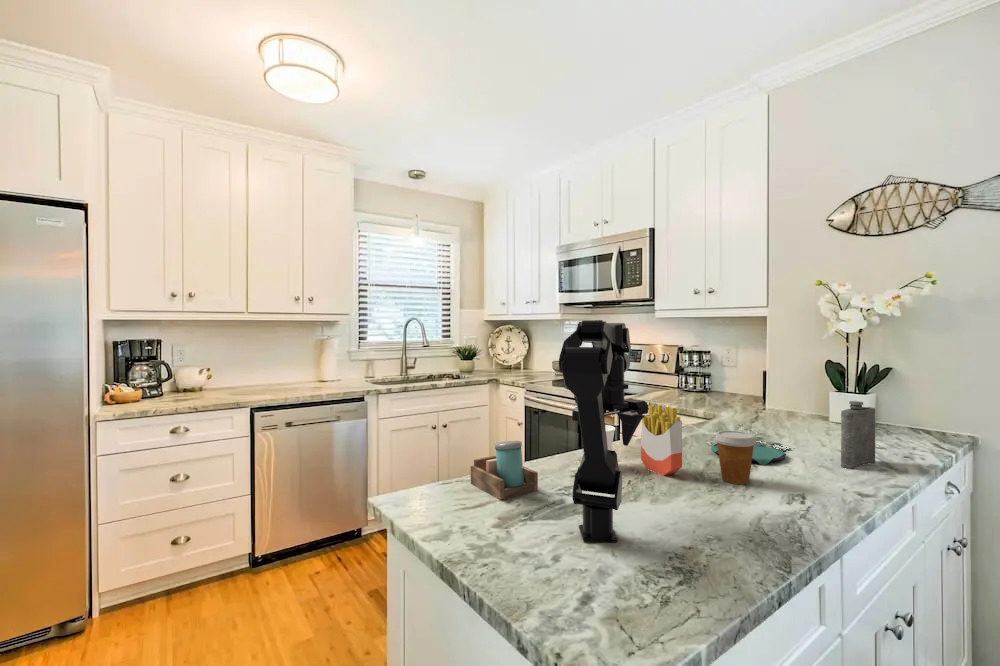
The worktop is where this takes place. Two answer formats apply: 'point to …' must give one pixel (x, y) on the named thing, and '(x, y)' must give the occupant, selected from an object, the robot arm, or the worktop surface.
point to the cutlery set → (763, 453)
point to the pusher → (491, 467)
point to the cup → (609, 435)
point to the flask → (857, 435)
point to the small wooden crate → (501, 481)
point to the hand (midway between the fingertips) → (611, 448)
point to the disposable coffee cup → (735, 455)
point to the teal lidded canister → (510, 463)
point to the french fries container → (661, 440)
